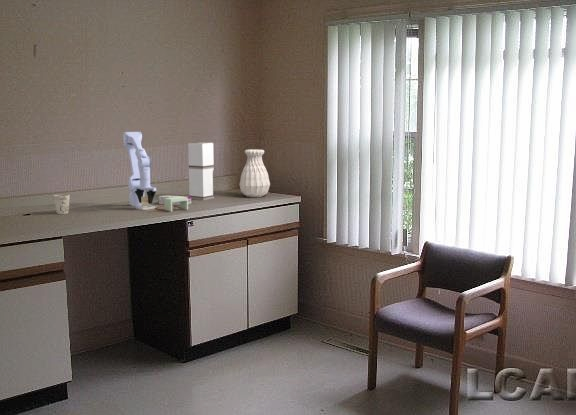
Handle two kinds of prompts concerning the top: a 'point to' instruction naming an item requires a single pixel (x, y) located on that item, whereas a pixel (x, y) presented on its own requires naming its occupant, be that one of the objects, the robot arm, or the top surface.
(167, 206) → the hood
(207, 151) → the white two-part pillar
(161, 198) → the candy bar box
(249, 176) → the vase
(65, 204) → the mug
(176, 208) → the puzzle board
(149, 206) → the tray
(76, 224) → the top surface
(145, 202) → the block
